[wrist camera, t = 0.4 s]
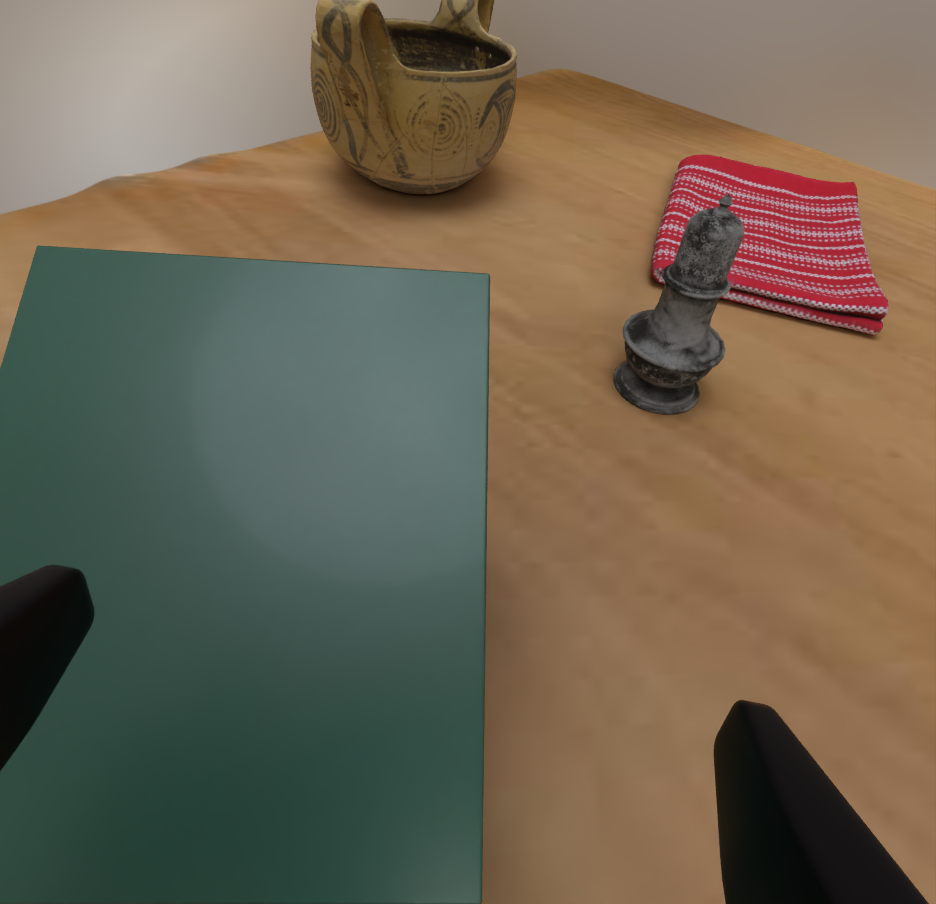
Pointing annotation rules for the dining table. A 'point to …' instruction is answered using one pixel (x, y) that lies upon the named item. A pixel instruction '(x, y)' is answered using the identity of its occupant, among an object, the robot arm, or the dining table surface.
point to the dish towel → (781, 241)
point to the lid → (250, 580)
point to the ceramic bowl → (412, 92)
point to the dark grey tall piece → (682, 318)
